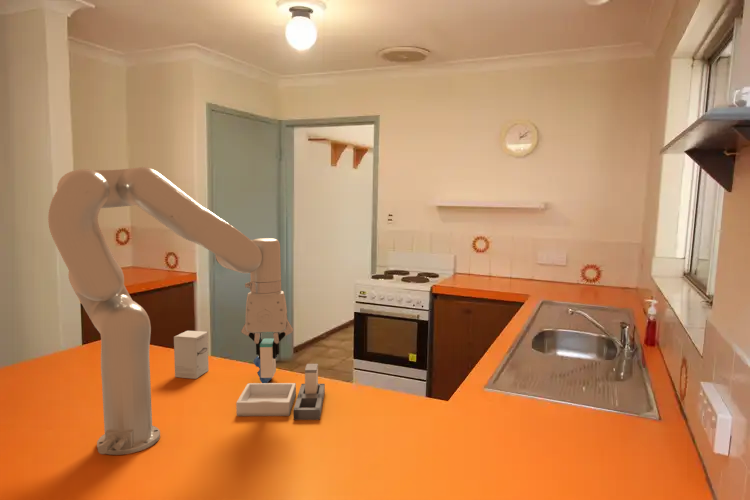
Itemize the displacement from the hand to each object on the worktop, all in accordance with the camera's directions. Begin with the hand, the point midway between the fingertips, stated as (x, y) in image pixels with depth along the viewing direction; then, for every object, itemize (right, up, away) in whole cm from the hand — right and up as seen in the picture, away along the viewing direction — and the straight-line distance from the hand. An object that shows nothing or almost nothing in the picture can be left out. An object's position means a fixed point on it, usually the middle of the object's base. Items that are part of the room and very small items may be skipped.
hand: (268, 356), depth 134 cm
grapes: (-5, -11, +19) cm, 22 cm away
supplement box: (-28, -11, +24) cm, 38 cm away
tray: (0, -13, +1) cm, 13 cm away
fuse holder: (+11, -13, +2) cm, 17 cm away
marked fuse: (0, -5, +1) cm, 5 cm away
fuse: (+10, -13, +6) cm, 17 cm away
